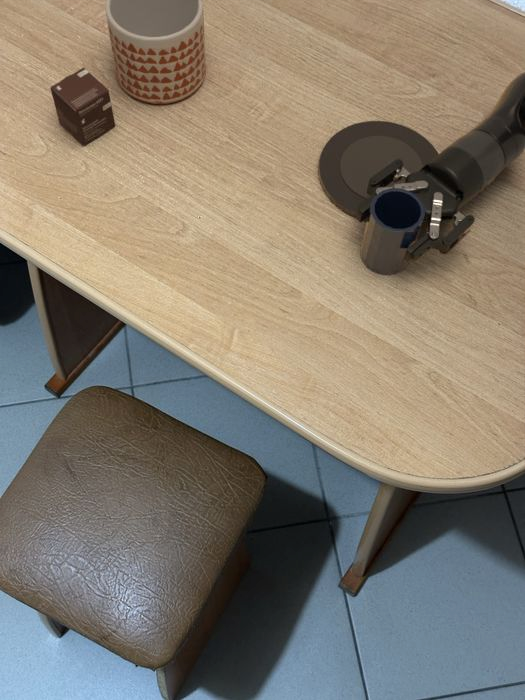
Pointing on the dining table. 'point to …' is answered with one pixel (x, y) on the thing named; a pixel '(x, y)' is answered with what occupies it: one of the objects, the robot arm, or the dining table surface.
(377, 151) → the plate
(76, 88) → the box
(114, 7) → the planter
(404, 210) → the cup
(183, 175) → the dining table surface
